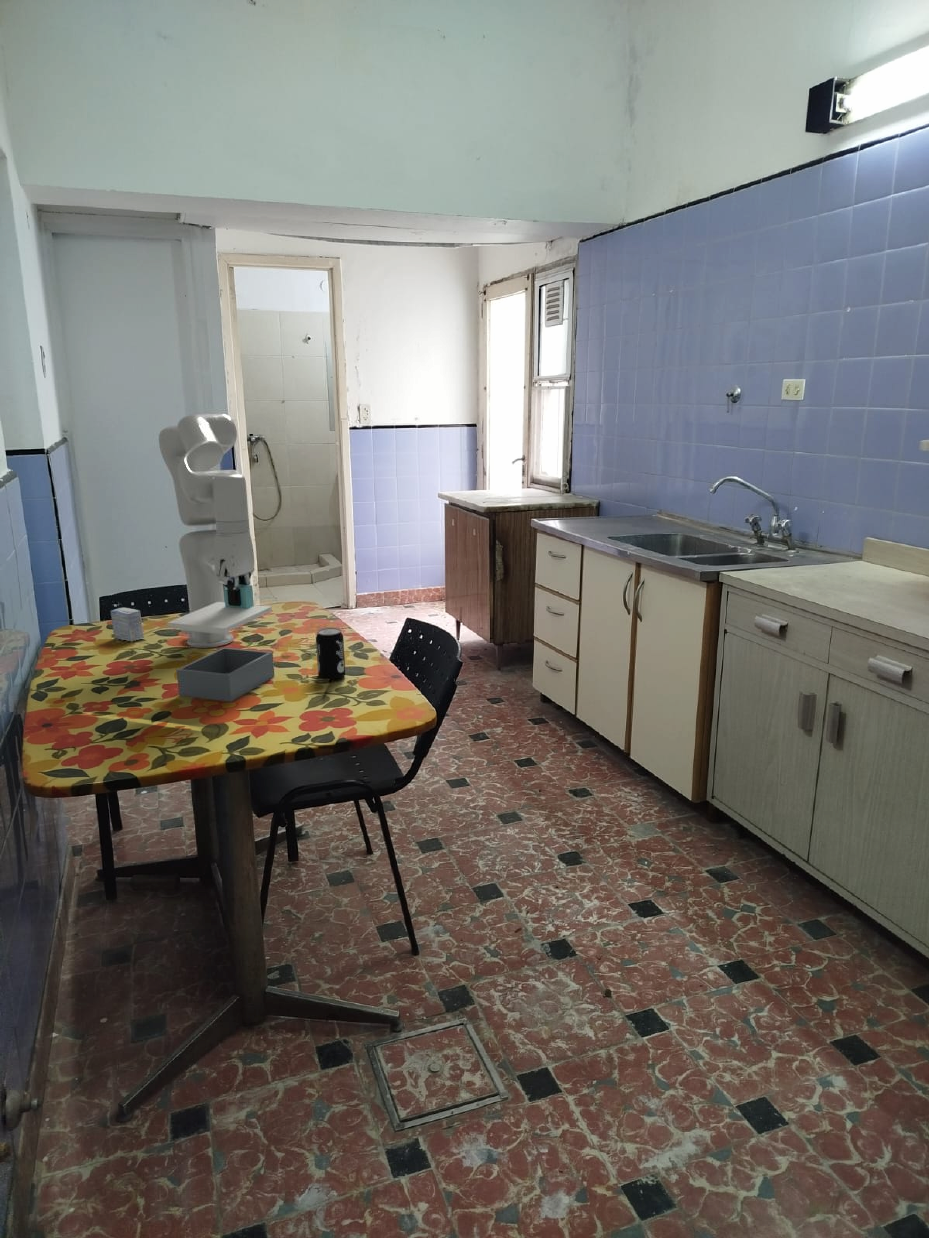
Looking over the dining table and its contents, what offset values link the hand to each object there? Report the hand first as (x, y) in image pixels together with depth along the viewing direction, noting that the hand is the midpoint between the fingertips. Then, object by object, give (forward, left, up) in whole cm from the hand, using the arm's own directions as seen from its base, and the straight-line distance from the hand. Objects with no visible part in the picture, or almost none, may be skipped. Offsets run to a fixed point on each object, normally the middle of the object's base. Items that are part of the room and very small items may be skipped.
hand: (239, 602), depth 196 cm
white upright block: (-53, +20, -19) cm, 60 cm away
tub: (0, -8, -19) cm, 21 cm away
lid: (0, -7, -3) cm, 8 cm away
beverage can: (+20, +6, -19) cm, 29 cm away
